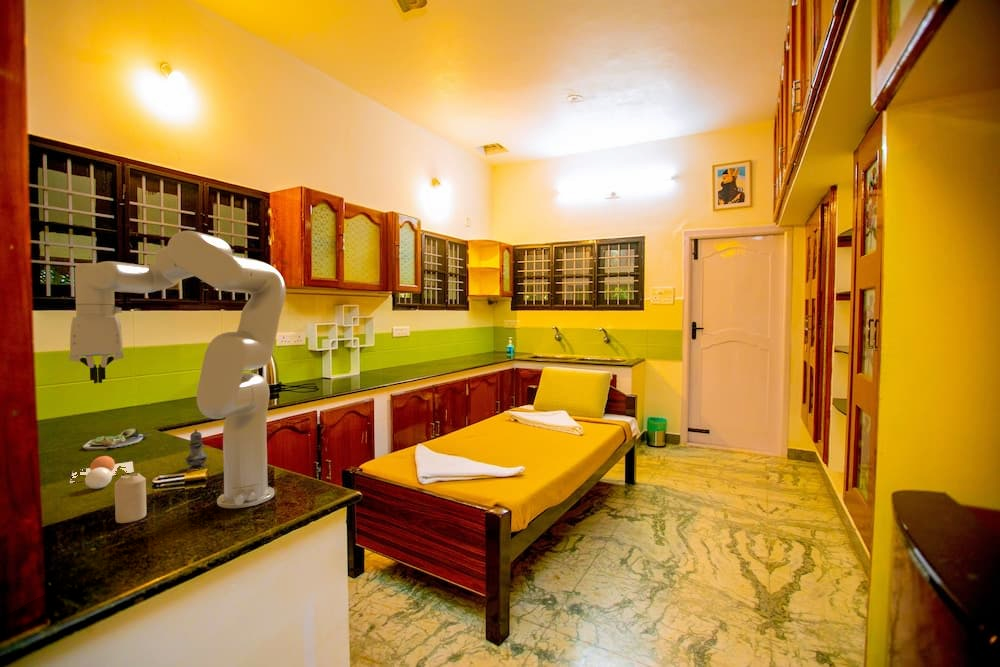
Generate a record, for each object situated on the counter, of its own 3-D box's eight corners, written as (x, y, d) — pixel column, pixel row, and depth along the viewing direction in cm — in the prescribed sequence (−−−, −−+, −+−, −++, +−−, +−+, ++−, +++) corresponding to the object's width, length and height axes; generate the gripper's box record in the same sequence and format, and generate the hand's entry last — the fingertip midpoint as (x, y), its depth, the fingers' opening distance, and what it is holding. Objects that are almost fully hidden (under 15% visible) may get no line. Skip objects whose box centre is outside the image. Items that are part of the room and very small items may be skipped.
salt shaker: (196, 471, 137) (195, 431, 137) (180, 470, 139) (179, 431, 138) (212, 465, 143) (211, 427, 143) (196, 464, 144) (195, 426, 144)
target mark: (133, 472, 137) (133, 472, 137) (69, 483, 128) (69, 482, 128) (132, 461, 148) (132, 461, 148) (73, 471, 139) (73, 470, 139)
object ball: (111, 451, 139) (112, 469, 139) (87, 456, 134) (88, 474, 135) (116, 456, 135) (117, 474, 136) (92, 461, 131) (93, 480, 132)
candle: (142, 511, 109) (141, 469, 109) (149, 517, 105) (148, 474, 105) (112, 519, 105) (111, 475, 104) (119, 525, 101) (117, 480, 101)
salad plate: (138, 449, 165) (138, 436, 165) (73, 455, 157) (73, 442, 157) (151, 437, 182) (151, 425, 182) (93, 442, 174) (93, 430, 174)
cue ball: (106, 460, 127) (108, 477, 129) (80, 469, 123) (83, 486, 124) (114, 469, 124) (116, 486, 126) (88, 478, 120) (91, 496, 122)
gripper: (132, 312, 127) (134, 378, 127) (57, 312, 117) (59, 384, 118) (133, 311, 121) (135, 381, 121) (54, 311, 111) (56, 387, 112)
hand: (98, 382), depth 119 cm, fingers closed
